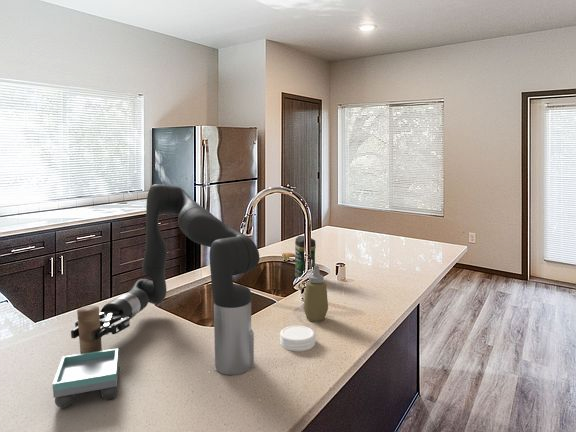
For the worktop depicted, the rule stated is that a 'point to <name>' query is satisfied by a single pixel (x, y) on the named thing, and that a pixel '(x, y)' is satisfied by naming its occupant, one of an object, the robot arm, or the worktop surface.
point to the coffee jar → (302, 255)
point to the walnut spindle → (88, 329)
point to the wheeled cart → (86, 375)
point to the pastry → (287, 255)
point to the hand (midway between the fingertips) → (83, 335)
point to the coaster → (297, 338)
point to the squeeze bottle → (316, 297)
